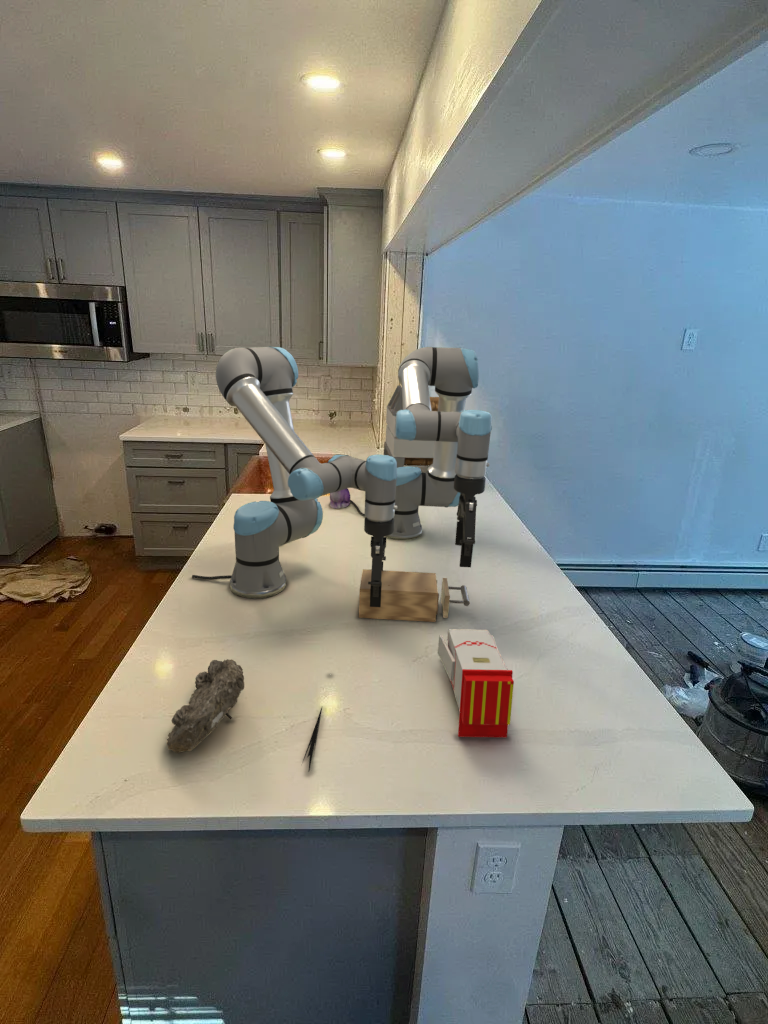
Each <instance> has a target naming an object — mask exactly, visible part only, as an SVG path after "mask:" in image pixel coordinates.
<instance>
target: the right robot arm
mask: <svg viewBox="0 0 768 1024" xmlns="http://www.w3.org/2000/svg"><path fill="white" fill-rule="evenodd" d="M479 372H480V371H479V360H478V355H477V353H476V351H475V350H474V349H471V348H463V347H441V346H439V347H437V346H435V347H434V346H423V347H420V348H417V349H414V350H413V351H411V352H409V354H407V355H406V356H405V357H404V358H403V360H402V361H401V362H400V364H399V367H398V370H397V379H398V383H399V384H400V386H401V387H402V401H403V410H399V411H398V412H397V415H396V437H397V438H398V439H403V440H409V441H413V440H417V441H435V446H434V456H433V464H431V465H430V466H429V465H428V466H427V472H424V471H423V472H422V469H421V468H420V467H419V466H407V465H404V467H398V468H397V481H396V492H395V505H397V507H398V508H397V509H394V510H395V515H394V517H393V518H394V532H393V533H392V534H391V535H389V536H384V537H387V538H386V539H389V540H395V541H410V540H415V539H418V538H420V537H421V536H422V535H423V525H422V524H421V518H420V515H419V507H435V508H437V507H438V508H456V507H457V511H456V516H457V517H456V527H455V529H456V530H455V539H454V540H455V542H454V545H455V546H460V557H459V568H471V569H472V561H473V551H474V545H475V544H476V522H477V506H478V500H477V499H476V495H481V494H483V493H484V492H485V489H486V479H487V478H486V475H487V471H488V470H487V469H488V467H490V462H488V459H489V452H490V442H491V441H490V440H491V434H492V429H493V426H492V421H493V417H492V413H491V412H489V411H485V410H481V409H466V400H467V398H469V397H470V396H472V392H473V389H476V388H478V386H479V382H480V381H479V379H480V378H479V377H480V373H479ZM429 387H434V393H435V394H436V395H437V397H439V403H438V411H431V403H430V397H431V396H430V389H429ZM350 503H351V504H352V505H353V506H354V507H355V508H356V511H357V512H358V513H359V514H360V515H361V516H363V517H365V515H364V513H363V512H362V511H361V510H360V508H359V506H358V505H357V504H356V503H355V502H354V500H351V499H350Z"/></svg>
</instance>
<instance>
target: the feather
mask: <svg viewBox="0 0 768 1024" xmlns="http://www.w3.org/2000/svg"><path fill="white" fill-rule="evenodd" d="M329 675H330V676H331V675H332V674H331V673H330V674H329ZM322 710H323V707H321V708H320V710H319V713H318V716H317V719H316V723H315V725H314V728H313V731H312V733H311V737H310V739H309V742H308V745H307V748H306V751H305V754H304V757H303V760H302V763H301V767H302V765H303V763H304V761H305V758H308V759H309V760H308V762H307V763H308V764H307V766H308V771H310V770H311V766H312V765H311V764H312V760H313V757H315V756H314V755H315V751H316V749H315V746H317V739H318V733H319V729H320V722H321V717H322V712H323V711H322ZM313 754H314V755H313ZM306 755H307V757H306Z"/></svg>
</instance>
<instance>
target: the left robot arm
mask: <svg viewBox="0 0 768 1024" xmlns="http://www.w3.org/2000/svg"><path fill="white" fill-rule="evenodd" d="M298 379H299V368H298V364H297V361H296V360H295V358H294V356H293V355H292V354H291V353H290V352H289V351H288V350H286V349H285V348H283V347H280V346H271V345H269V346H253V347H251V346H250V347H235V348H232V349H229V350H228V351H226V352H225V353H224V354H223V355H221V357H220V358H219V360H218V362H217V364H216V368H215V380H216V385H217V388H218V390H219V392H220V394H221V395H222V398H224V400H225V401H226V402H227V404H228V405H229V406H231V407H235V408H237V410H238V411H239V413H240V414H241V415H242V416H243V418H244V419H245V420H246V422H247V423H248V424H249V425H250V426H251V428H252V429H253V431H255V433H256V434H257V435H258V437H259V438H260V439H261V440H262V441H263V443H264V445H265V450H266V455H267V460H268V466H269V471H270V477H271V481H272V487H273V491H272V493H271V494H270V495H269V500H270V501H269V500H258V501H256V500H255V501H251V502H247V503H245V504H243V505H241V506H239V508H237V509H236V511H235V512H234V515H233V531H234V549H235V551H234V553H235V563H234V566H233V570H232V573H231V574H230V575H215V576H205V575H197V574H192V575H191V579H197V580H205V581H214V580H229V585H230V587H229V589H230V590H231V592H232V593H233V594H235V595H236V596H239V597H242V598H246V599H263V598H264V599H265V598H269V597H272V596H275V595H277V594H280V593H281V592H283V591H284V590H285V589H286V587H287V576H286V574H285V571H284V568H283V566H282V564H281V561H280V547H281V546H284V545H286V544H290V543H292V542H294V541H297V540H300V539H304V538H305V539H306V538H307V537H309V536H310V535H312V534H314V533H316V532H317V531H318V530H319V529H320V527H321V525H322V523H323V518H324V517H323V516H324V511H323V507H322V505H321V502H320V501H319V499H318V498H320V497H323V496H326V495H330V493H333V492H337V491H340V490H344V489H355V490H359V491H363V492H364V513H363V514H364V515H365V516H364V518H363V519H364V521H363V523H364V524H363V527H364V528H363V531H364V532H365V534H367V535H369V536H370V545H369V546H370V558H372V559H371V570H372V573H371V582H368V584H370V585H371V589H370V607H381V587H382V582H381V575H382V570H384V562H385V561H387V556H386V555H385V554H386V548H387V539H388V538H387V537H384V536H389V535H391V534H392V533H393V532H394V518H393V517H394V515H395V510H394V509H397V508H398V507H397V505H395V492H396V481H397V462H396V460H395V458H393V457H391V456H388V455H384V454H372V455H369V456H368V457H367V458H366V459H361V458H357V457H354V456H351V455H348V454H339V453H338V454H333V456H331V458H330V459H328V461H327V462H323V463H321V462H320V461H319V460H318V458H317V457H316V456H315V455H314V454H313V453H312V452H311V450H310V448H308V446H307V445H306V444H305V443H304V442H303V440H302V439H301V438H300V437H299V435H298V434H297V433H296V431H295V428H294V421H293V416H292V411H291V405H290V400H291V398H292V397H293V395H294V391H293V388H294V387H295V386H296V385H297V383H298Z"/></svg>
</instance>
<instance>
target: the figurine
mask: <svg viewBox="0 0 768 1024" xmlns="http://www.w3.org/2000/svg"><path fill="white" fill-rule="evenodd" d="M350 493H351V492H350V490H349V488H347V489H344V490H340V491H337V492H333V493H329V500H330V501H329V506H330V508H331V509H344V508H345V509H346V508H347V507H349V506H350V503H351V502H350V500H351V494H350Z"/></svg>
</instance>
